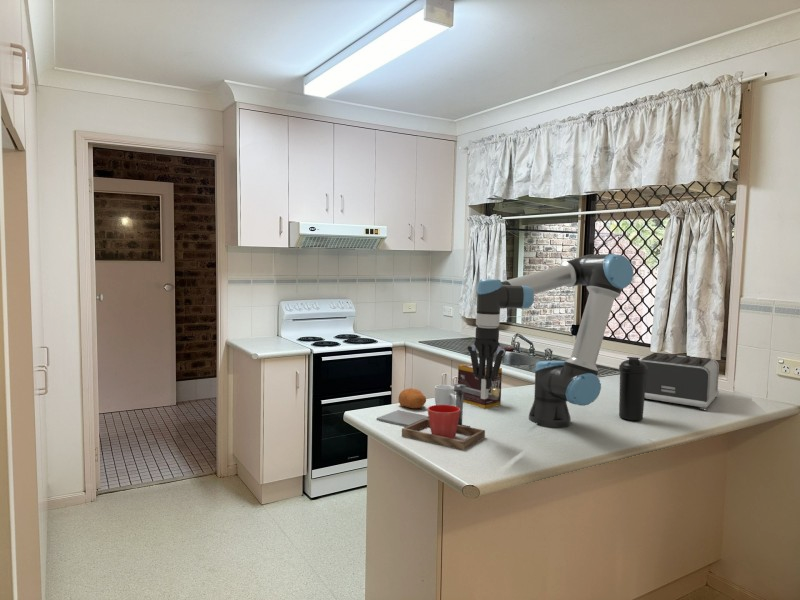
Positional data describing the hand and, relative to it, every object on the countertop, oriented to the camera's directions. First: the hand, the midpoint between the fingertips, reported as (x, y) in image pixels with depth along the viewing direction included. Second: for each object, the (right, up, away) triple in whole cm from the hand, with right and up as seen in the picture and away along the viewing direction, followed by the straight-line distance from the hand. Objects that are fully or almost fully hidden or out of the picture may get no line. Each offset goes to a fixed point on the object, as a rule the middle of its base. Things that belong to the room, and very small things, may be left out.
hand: (484, 398), depth 183 cm
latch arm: (-2, 0, +6) cm, 6 cm away
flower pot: (-13, -14, +4) cm, 19 cm away
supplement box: (+5, -11, +49) cm, 51 cm away
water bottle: (+62, -13, +33) cm, 71 cm away
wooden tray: (-13, -14, +4) cm, 19 cm away
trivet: (-27, -12, +23) cm, 37 cm away
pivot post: (-7, -13, +13) cm, 20 cm away
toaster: (+96, -12, +69) cm, 119 cm away
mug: (-10, -12, +36) cm, 39 cm away
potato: (-22, -11, +40) cm, 47 cm away
